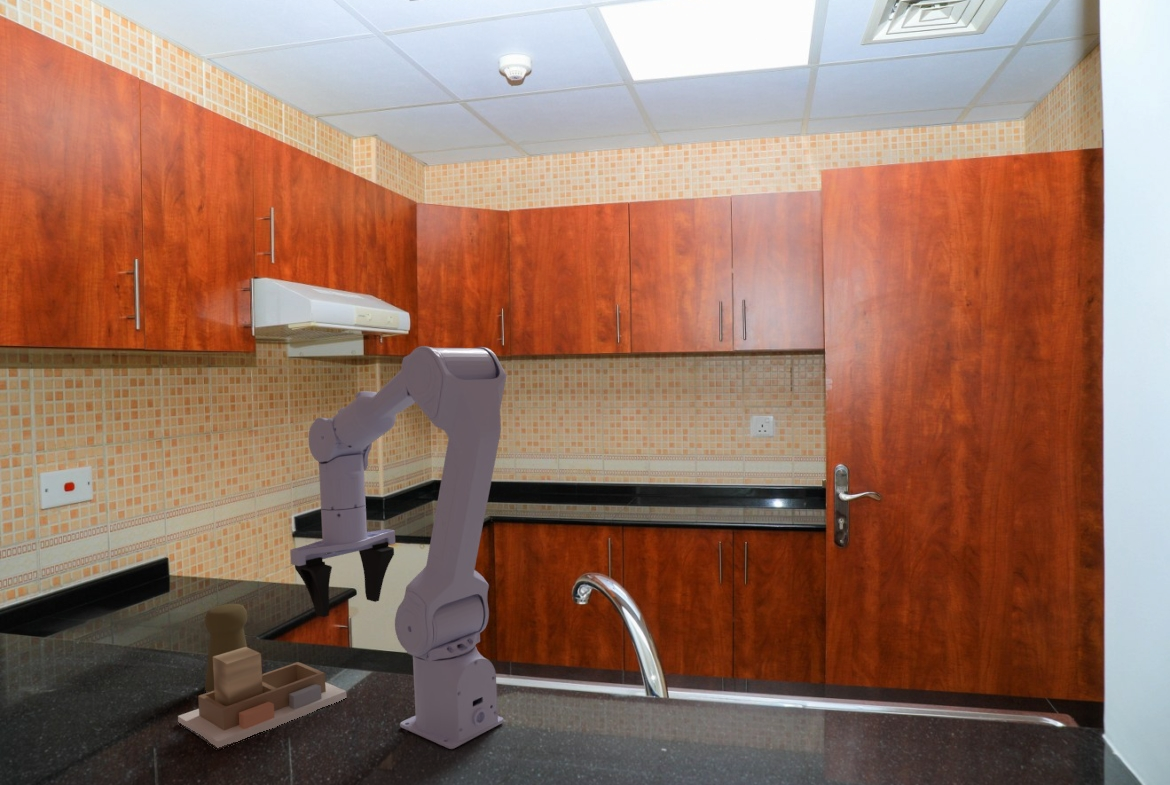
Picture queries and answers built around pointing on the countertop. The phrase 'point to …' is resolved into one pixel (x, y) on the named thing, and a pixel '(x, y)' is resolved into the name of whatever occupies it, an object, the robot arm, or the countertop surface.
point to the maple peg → (237, 676)
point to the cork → (224, 634)
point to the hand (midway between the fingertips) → (348, 607)
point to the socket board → (263, 705)
